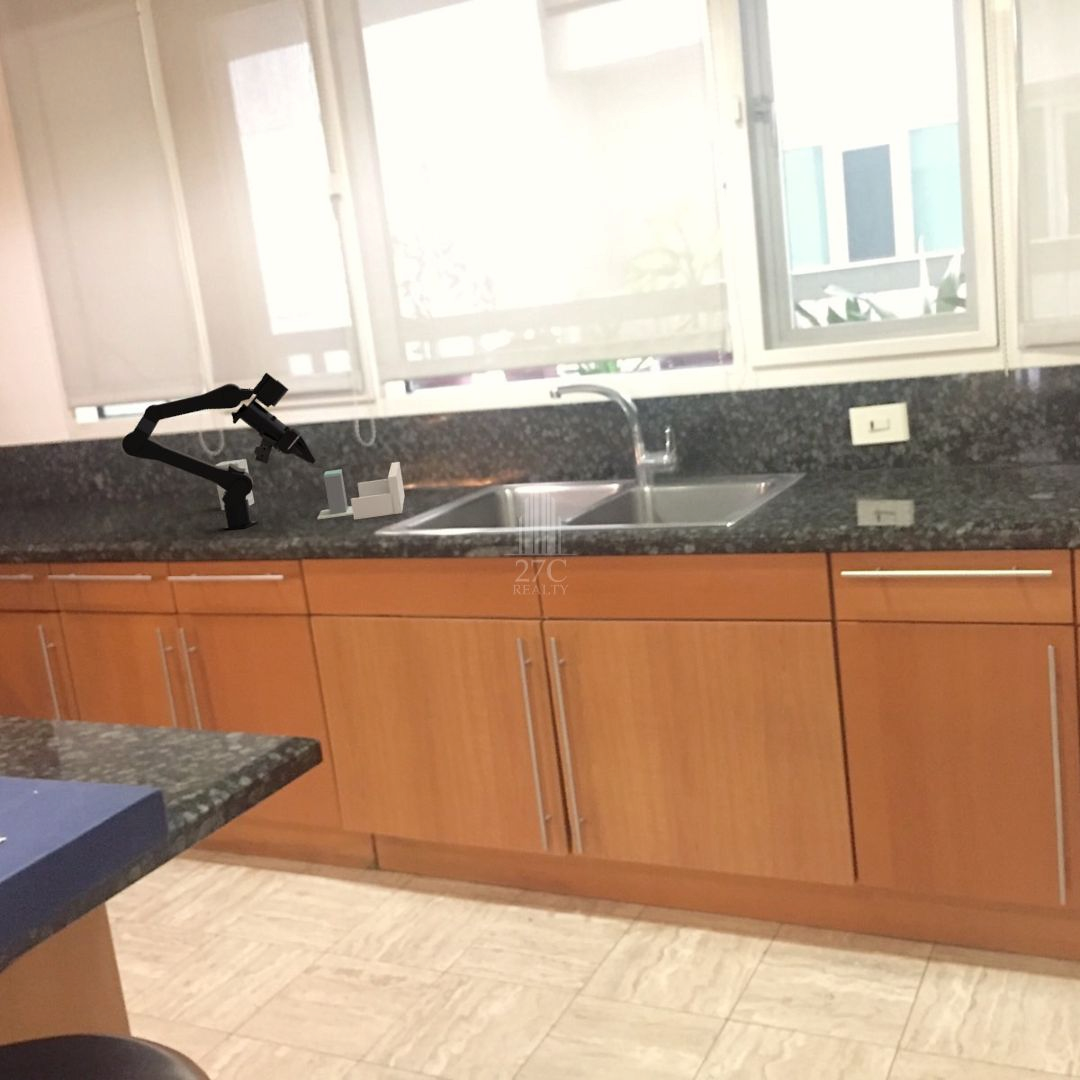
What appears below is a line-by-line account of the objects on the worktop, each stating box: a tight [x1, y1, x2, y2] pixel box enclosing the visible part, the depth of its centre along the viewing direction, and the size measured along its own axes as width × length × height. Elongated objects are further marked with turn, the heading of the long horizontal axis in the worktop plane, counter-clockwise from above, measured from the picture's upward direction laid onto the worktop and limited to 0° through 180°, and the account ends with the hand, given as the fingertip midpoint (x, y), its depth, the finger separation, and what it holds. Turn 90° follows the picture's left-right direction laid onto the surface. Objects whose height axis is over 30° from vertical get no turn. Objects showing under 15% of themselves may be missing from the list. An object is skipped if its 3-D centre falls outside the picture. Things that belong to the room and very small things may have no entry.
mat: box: [316, 505, 353, 520], centre depth 298 cm, size 10×11×1 cm
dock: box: [350, 461, 405, 520], centre depth 297 cm, size 12×26×9 cm, turn 5°
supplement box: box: [215, 458, 255, 511], centre depth 328 cm, size 7×7×13 cm
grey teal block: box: [323, 469, 349, 515], centre depth 297 cm, size 4×6×10 cm, turn 5°
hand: (312, 461), depth 297 cm, fingers open, 9 cm apart
